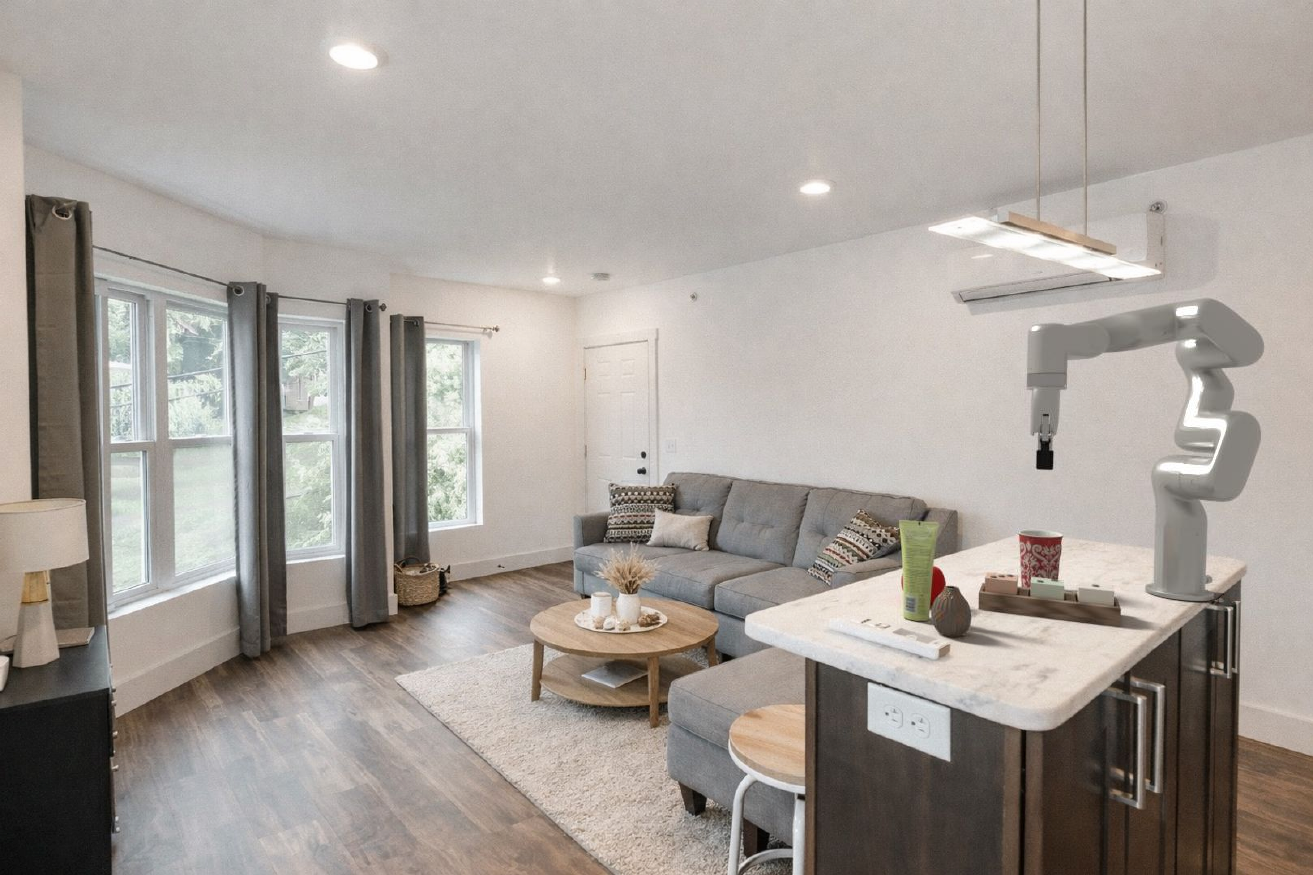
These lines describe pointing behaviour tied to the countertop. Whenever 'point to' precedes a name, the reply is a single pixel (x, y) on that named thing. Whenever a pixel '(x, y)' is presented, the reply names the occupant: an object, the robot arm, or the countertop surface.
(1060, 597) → the tile two
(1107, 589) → the tile one
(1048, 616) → the wooden compartment tray
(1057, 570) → the mug
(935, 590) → the fruit
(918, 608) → the tube
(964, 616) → the vase
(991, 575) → the tile three
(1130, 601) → the countertop surface
